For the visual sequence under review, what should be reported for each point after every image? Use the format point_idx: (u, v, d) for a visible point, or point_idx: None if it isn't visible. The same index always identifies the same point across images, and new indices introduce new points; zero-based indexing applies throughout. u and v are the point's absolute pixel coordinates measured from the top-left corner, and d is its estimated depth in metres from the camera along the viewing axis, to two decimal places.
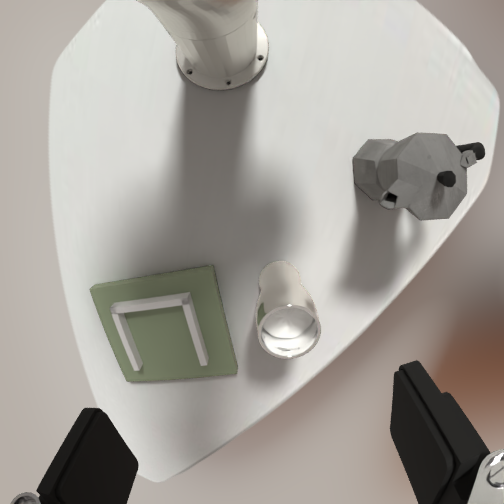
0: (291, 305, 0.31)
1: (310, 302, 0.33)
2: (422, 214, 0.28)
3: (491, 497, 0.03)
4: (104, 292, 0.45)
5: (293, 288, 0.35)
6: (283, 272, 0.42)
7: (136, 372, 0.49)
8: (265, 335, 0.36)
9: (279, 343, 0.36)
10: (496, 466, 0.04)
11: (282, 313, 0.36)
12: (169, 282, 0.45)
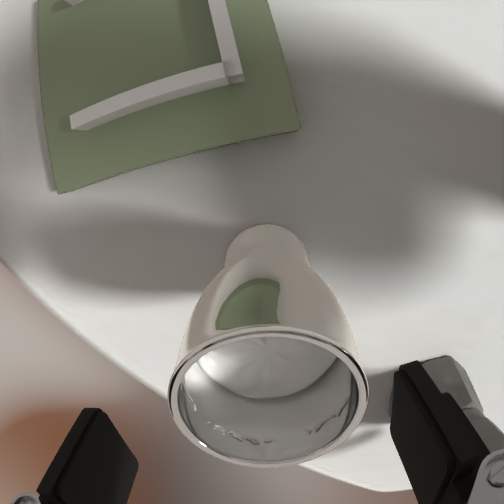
0: None
1: None
2: None
3: (491, 497, 0.03)
4: None
5: None
6: None
7: None
8: None
9: None
10: (496, 466, 0.04)
11: (276, 339, 0.13)
12: (265, 40, 0.17)
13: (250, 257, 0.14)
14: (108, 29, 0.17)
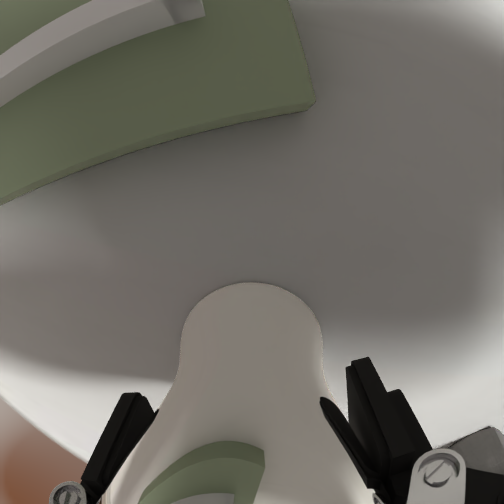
0: None
1: None
2: None
3: (422, 495, 0.04)
4: None
5: None
6: None
7: None
8: None
9: None
10: (431, 466, 0.05)
11: None
12: None
13: (193, 458, 0.04)
14: None
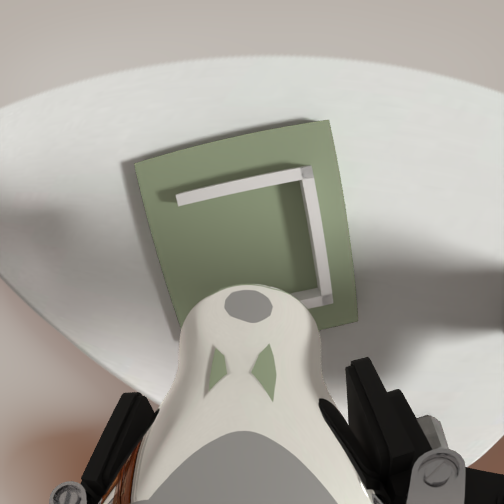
0: None
1: None
2: None
3: (422, 495, 0.04)
4: (325, 148, 0.27)
5: None
6: None
7: (159, 187, 0.28)
8: None
9: None
10: (431, 466, 0.05)
11: None
12: (344, 265, 0.30)
13: (194, 459, 0.04)
14: (225, 240, 0.29)
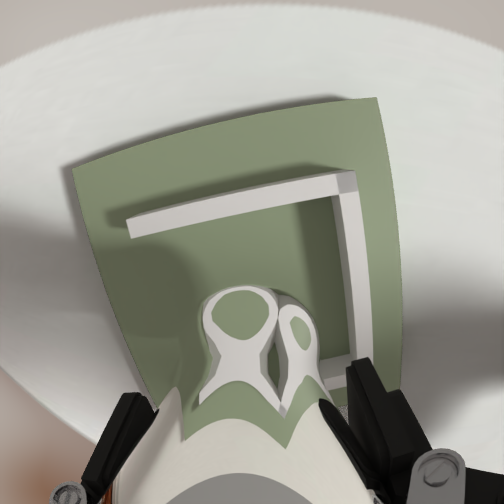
0: None
1: None
2: None
3: (422, 495, 0.04)
4: (371, 143, 0.16)
5: None
6: None
7: (108, 204, 0.17)
8: None
9: None
10: (431, 466, 0.05)
11: None
12: (390, 322, 0.19)
13: (193, 459, 0.04)
14: (211, 288, 0.18)
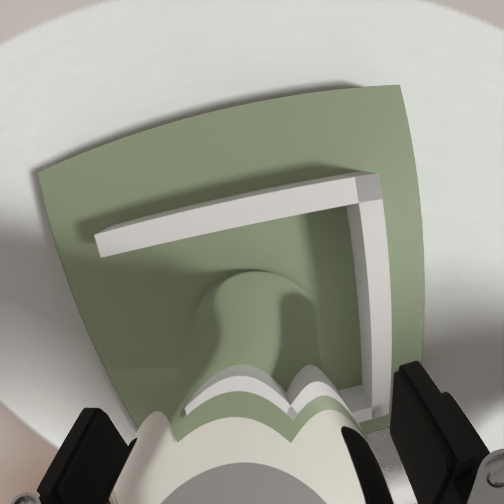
0: None
1: None
2: None
3: (490, 497, 0.03)
4: (395, 140, 0.13)
5: None
6: None
7: (77, 214, 0.14)
8: None
9: None
10: (496, 466, 0.04)
11: None
12: (409, 349, 0.16)
13: (207, 405, 0.06)
14: None
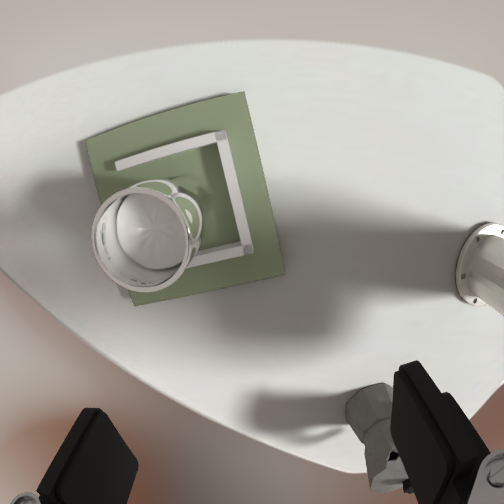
0: (190, 238, 0.18)
1: None
2: (378, 477, 0.29)
3: (491, 497, 0.03)
4: (241, 116, 0.30)
5: (202, 234, 0.22)
6: (203, 210, 0.29)
7: (105, 158, 0.31)
8: (119, 199, 0.21)
9: (110, 223, 0.21)
10: (496, 466, 0.04)
11: (158, 221, 0.22)
12: (265, 220, 0.33)
13: None
14: None
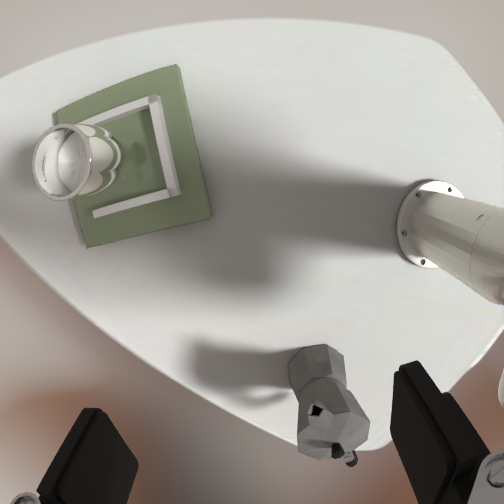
0: (90, 156, 0.22)
1: (96, 183, 0.25)
2: (302, 435, 0.32)
3: (491, 497, 0.03)
4: (173, 83, 0.34)
5: (113, 163, 0.26)
6: (133, 157, 0.33)
7: None
8: (59, 140, 0.25)
9: (51, 158, 0.25)
10: (496, 466, 0.04)
11: (84, 155, 0.26)
12: (191, 168, 0.37)
13: None
14: None
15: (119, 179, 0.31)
